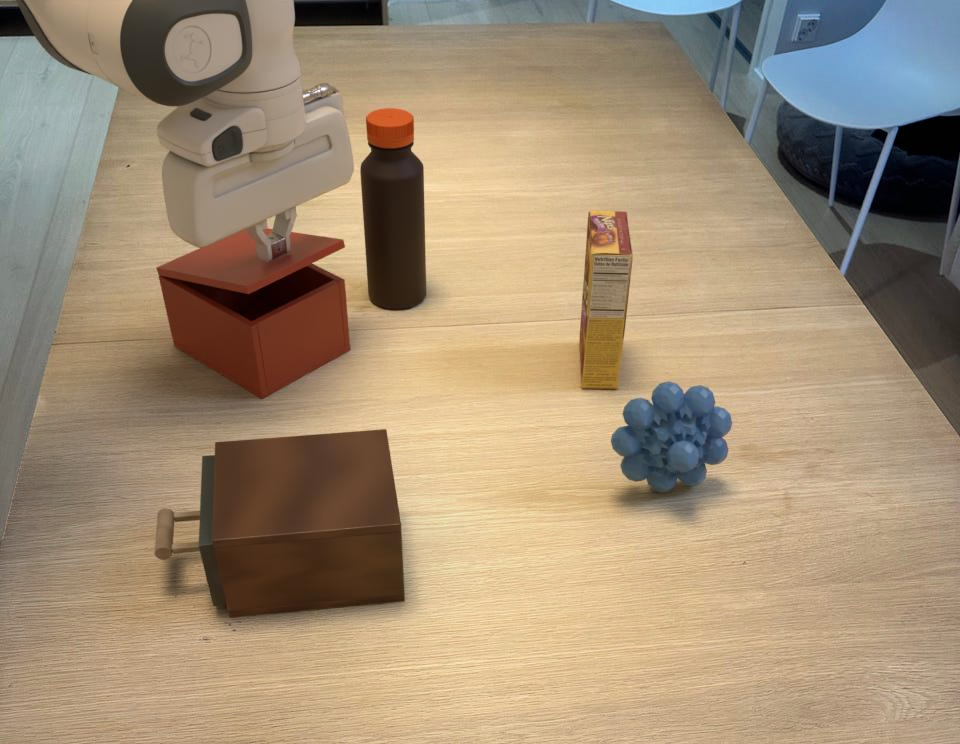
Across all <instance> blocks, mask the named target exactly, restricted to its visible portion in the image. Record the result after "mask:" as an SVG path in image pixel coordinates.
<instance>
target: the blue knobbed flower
mask: <svg viewBox="0 0 960 744" xmlns="http://www.w3.org/2000/svg"><path fill="white" fill-rule="evenodd" d="M650 397H651V398H650V399H651V401H650V400H648V399H646V398H643V397H638V398H633V399H630V400H629V401H628V402H627V403H626V404H625V405H624V407H623V410H622V418H623V420H624V422H625V424H626V425H623V426H619V427H617V429H616V430H615V431H614V432H613V433H612V435H611V438H610V444H611V447H612V450H613V451H614V452H615V453H616V454H617V455H619V456H620V457H622V459H621V460H620V461H621V462H620V465H619V466H620V469H621V473H622V475H623V476H624V477H625V478H627V480H629V481H632V482H635V483H637V482H642V481H645V480H646V483H647V485H648V486H649V487H650V488H651V489H652V490H653V491H654V492H658V493H662V494H663V493H669V492H670V491H672V490H673V489H674V487H675V486H676V485H677V481H678V480H679V482H681V483H682V485H685V486H688V487H694V486H698V485H700V484H701V483H703V482H704V480H705V479H706V477H707V473H708V469H707V466H706V465H709V466H717V465H719V464H721V463H723V462H724V461H725V460H726V458H727V457H728V454H729V447H728V442H727V441H726V440H725V439H724V437H725V436H726V435H728V434H729V433H730V431H731V430H732V426H733V420H732V415H731V413H730V412H729V411H728V410H727V409H726V408H725V407H721V406H715V405H716V399H715V395H714V392H713V391H712V390H711V389H710V388H709V387H708V386H705V385H702V384H700V385H699V384H698V385H694V386H690V387H689V388H688V389H687V390H686V391H685V392H684V390H683V388H682V387H681V386H680V385H679V384H678V383H676V382H673V381H665V382H660V383H658V384H657V386H655V388H654V389H653V390H652V394H651V396H650Z"/></svg>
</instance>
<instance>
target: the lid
mask: <svg viewBox="0 0 960 744" xmlns="http://www.w3.org/2000/svg"><path fill="white" fill-rule="evenodd" d="M272 230H273V228H267V229H266V230H263V232H264V233H265V234H266V235H268V234H270V233H272ZM289 238H290V246H291V251H290V252H288V253H285V254H283V255H281V256H279V257H277V258H275V259H273V260H271V261H269V262H265V261H264V260H262V259H260V258H259V257H258V255H257V251H256V244H255V241H254V240H253V239H252V238H251V236H250V235H249V234H248V233H247V232H246V230H245V229H244V230H242V231H240V232H237V233H235V234H233V235H231V236H228V237H226V238H224V239H222V240H219V241H217V242H215V243H213V244H210V245H208V246H206V247H204V248H197V249H195V250H192V251H190V252H188V253H186V254H183V255H181V256H179V257H176V258H175V259H172V260H170V261H168V262H166V263H163V264H161V265H159V266H156V267H155V269H156V271H157V274H158V276H159V275H161V276H165V277H170V278H175V279H179V280H184V281H189V282H194V283H198V284H203V285H208V286H212V287H217V288H222V289H227V290H231V291H236V292H241V293H245V294H250V293H252V292H254V291H256V290H258V289H260V288H262V287H264V286H266V285H268V284H271V283H273V282H275V281H277V280H279V279H281V278H283V277H285V276H287V275H289V274H291V273H293V272H295V271H297V270H299V269H301V268H303V267H306V266H308V265H310V264H314V263H317V262H318V261H320V260H322V259H324V258H327V257H328V256H330V255H333V254H334V253H336V252H339V251H341V250H343V249H344V248H346V245H345V241H344V239H342V238H335V237H330V236H329V237H328V236H321V235H315V234H310V233H309V234H308V233H302V232H295V231H291V234H290V236H289Z"/></svg>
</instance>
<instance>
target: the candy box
mask: <svg viewBox="0 0 960 744" xmlns="http://www.w3.org/2000/svg"><path fill="white" fill-rule="evenodd" d="M585 240H586V242H585V257H584V271H583V284H582V295H581V297H582V298H581V309H580V310H581V312H580V325H579V339H578V341H579V343H578V345H579V358H580V359H579V361H580V389H588V390H589V389H592V390H593V389H594V390H618V389H619V382H620V373H621V368H622V367H621V366H622V357H623V347H624V340H625V330H626V322H627V313H628V312H627V311H628V304H629V296H630V295H629V294H630V287H631V277H632V269H633V262H634V261H633V260H634V259H633V258H634V252H633V247H632V240H631V233H630V227H629V221H628V212H627V211H619V210H618V211H616V210H592V211H591V210H589V212H588V214H587V226H586V239H585Z"/></svg>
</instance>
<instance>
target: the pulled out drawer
mask: <svg viewBox="0 0 960 744" xmlns="http://www.w3.org/2000/svg"><path fill="white" fill-rule="evenodd" d="M214 460H215V454H211V455H202V456H201V476H200V478H201V480H200V499H199V500H200V502H199V510H191V511H180V512H178V511H177V512H174V511H173V510H172V509H170V508H167V507H165V508H161V509H159V510H158V511H157V515H156V517H157V519H156V530H155V541H154V556H155V558H157V559H158V560H160V561H167V560H169V559H171V558H172V557H173V555H176V554H178V555H179V554H188V553H200V558H201V562H202V566H203V569H204V574H205V578H206V583H207V586H208V590H209V594H210V598H211V604H212V607H222V606H223V607H224V606H227V604H226V599H225V595H224V591H223V586H222V582H221V577H220V573H219V569H218V564H217V560H216V555H215V551H214V546H213V542H212V532H213V496H214ZM192 521H194V522H195V521H199V525H198V526H199V528H198V541H196V542H195V541H194V542H183V543H174V535H175V523H179V522H181V523H182V522H192Z"/></svg>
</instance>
